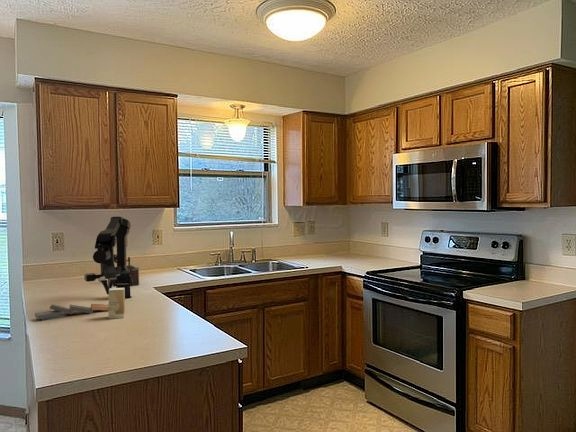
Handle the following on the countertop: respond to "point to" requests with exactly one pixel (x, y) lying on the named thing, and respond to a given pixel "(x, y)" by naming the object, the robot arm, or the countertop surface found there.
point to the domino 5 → (99, 307)
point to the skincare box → (116, 303)
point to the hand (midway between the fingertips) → (108, 294)
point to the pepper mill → (131, 271)
